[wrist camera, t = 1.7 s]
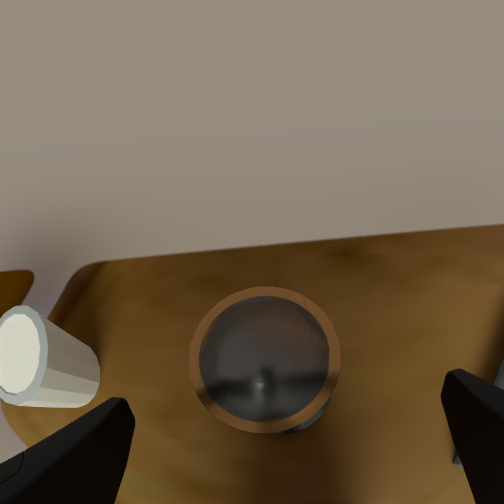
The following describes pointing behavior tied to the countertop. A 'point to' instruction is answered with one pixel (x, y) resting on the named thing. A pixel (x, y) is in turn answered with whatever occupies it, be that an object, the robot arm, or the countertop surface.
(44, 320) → the white cup
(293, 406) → the pin
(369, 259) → the countertop surface
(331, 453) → the countertop surface
